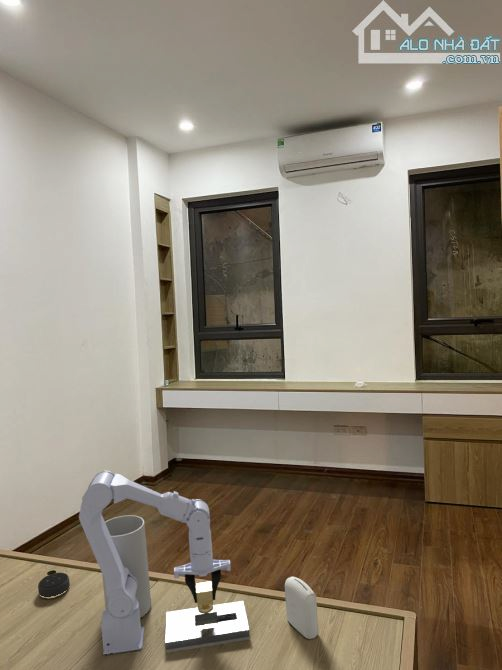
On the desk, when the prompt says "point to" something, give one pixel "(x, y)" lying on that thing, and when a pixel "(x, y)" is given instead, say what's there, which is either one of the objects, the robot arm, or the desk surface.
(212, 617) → the keyhole plate
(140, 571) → the cylinder vase
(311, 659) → the desk surface
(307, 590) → the photo printer
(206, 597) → the brass peg
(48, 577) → the smart speaker
